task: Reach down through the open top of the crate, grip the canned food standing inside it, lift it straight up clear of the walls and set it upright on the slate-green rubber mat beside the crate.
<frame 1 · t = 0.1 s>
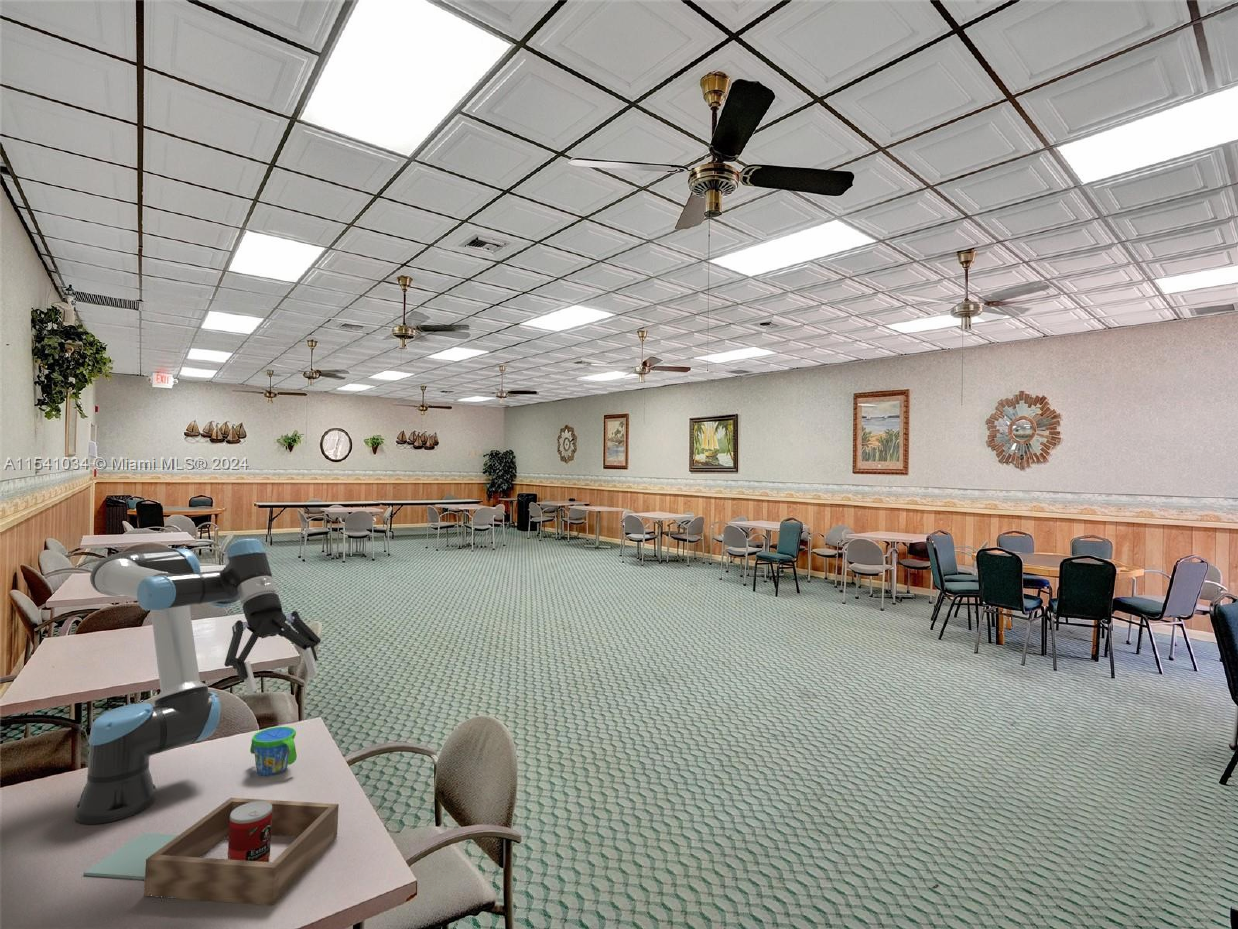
hand: (284, 684, 132), 36 cm above the table, tool tilted 35°, fingers open, 13 cm apart
crate: (248, 863, 125), on the table
canned food: (248, 864, 125), resting in crate
mat: (145, 856, 126), on the table
snack cup: (272, 771, 165), on the table
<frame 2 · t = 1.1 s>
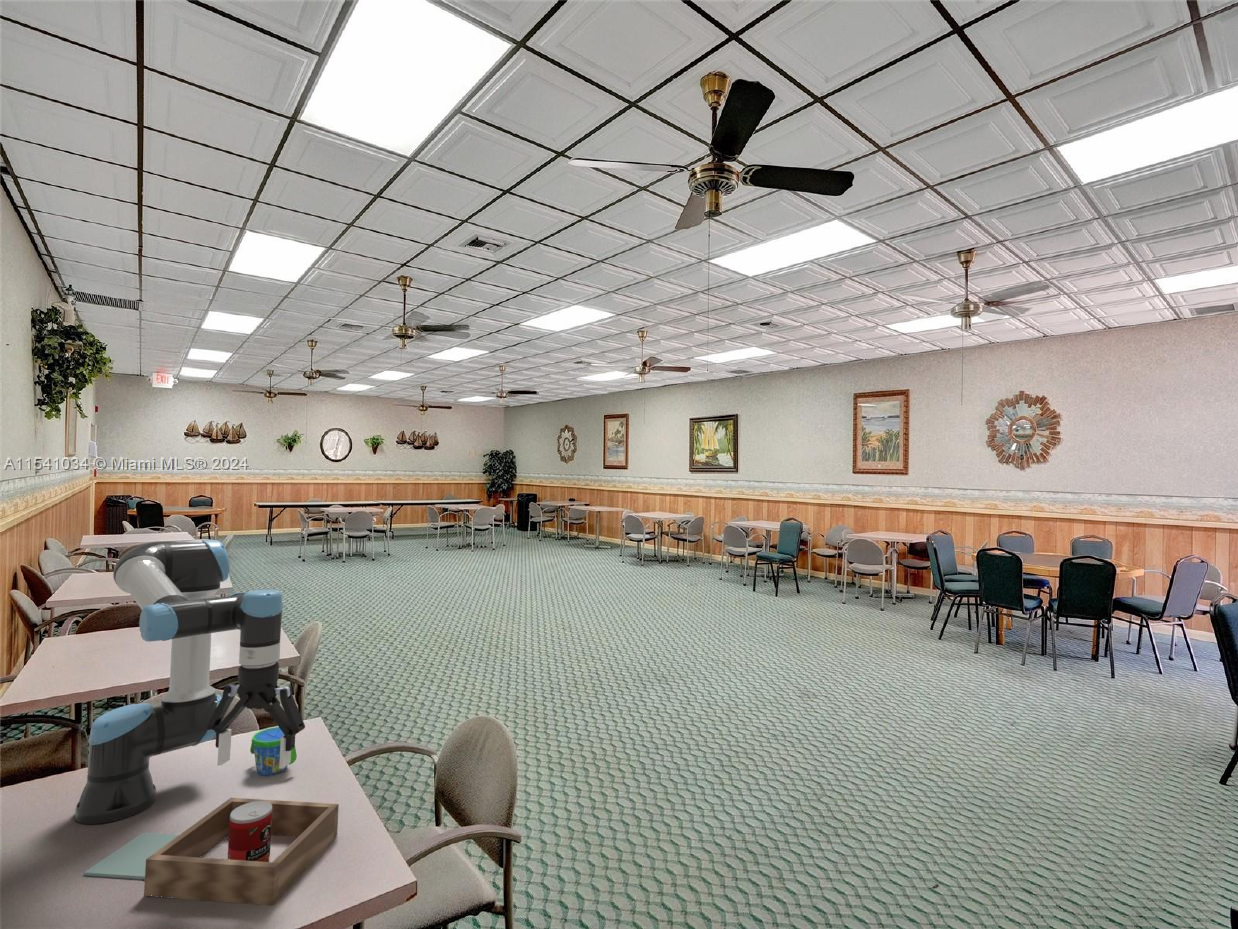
hand: (254, 764, 126), 21 cm above the table, tool pointing down, fingers open, 13 cm apart
nothing on the table moved.
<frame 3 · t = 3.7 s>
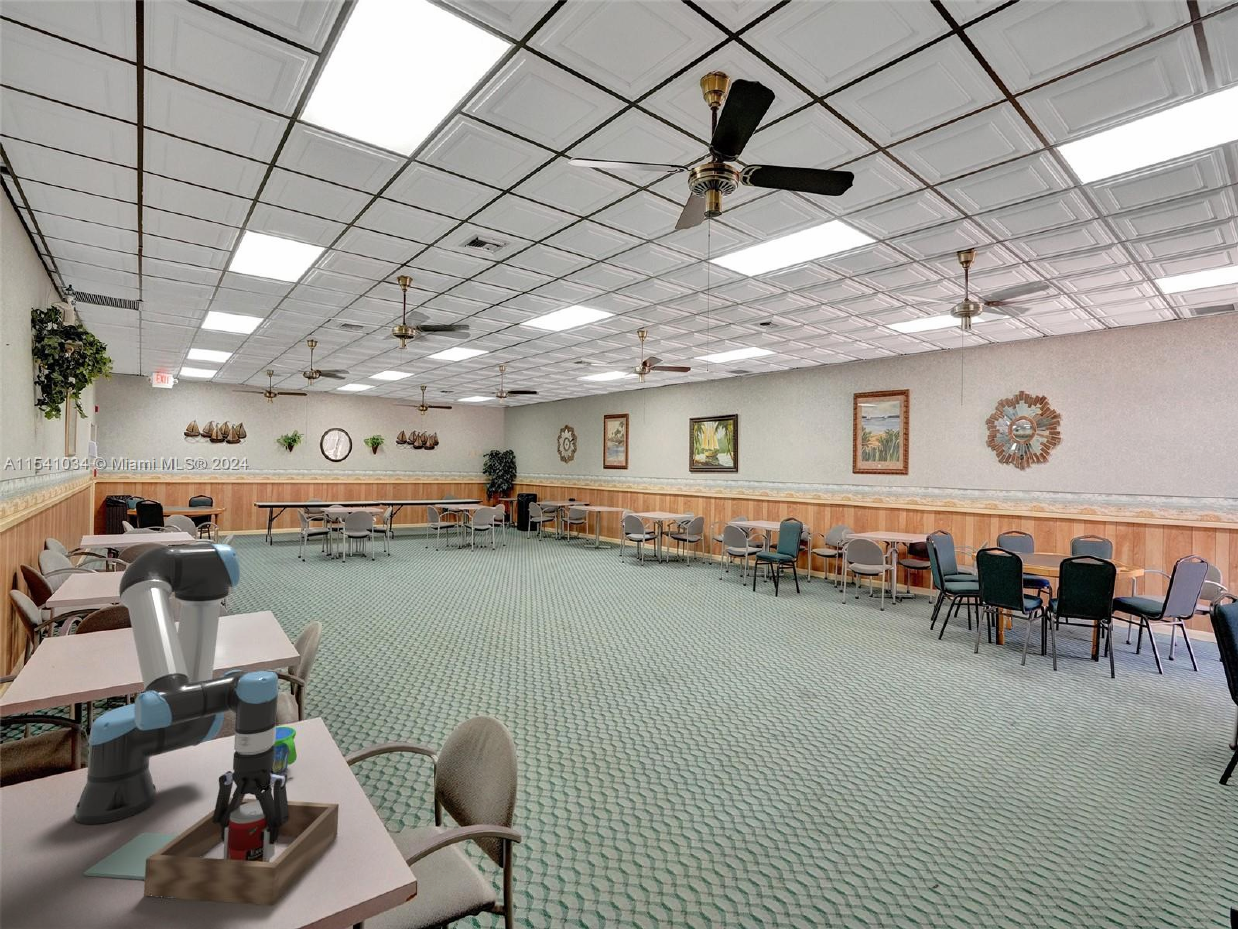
hand: (249, 857, 125), 1 cm above the table, tool pointing down, fingers closed on canned food, 8 cm apart
canned food: (248, 864, 125), resting in crate, touching gripper
everything else where it was.
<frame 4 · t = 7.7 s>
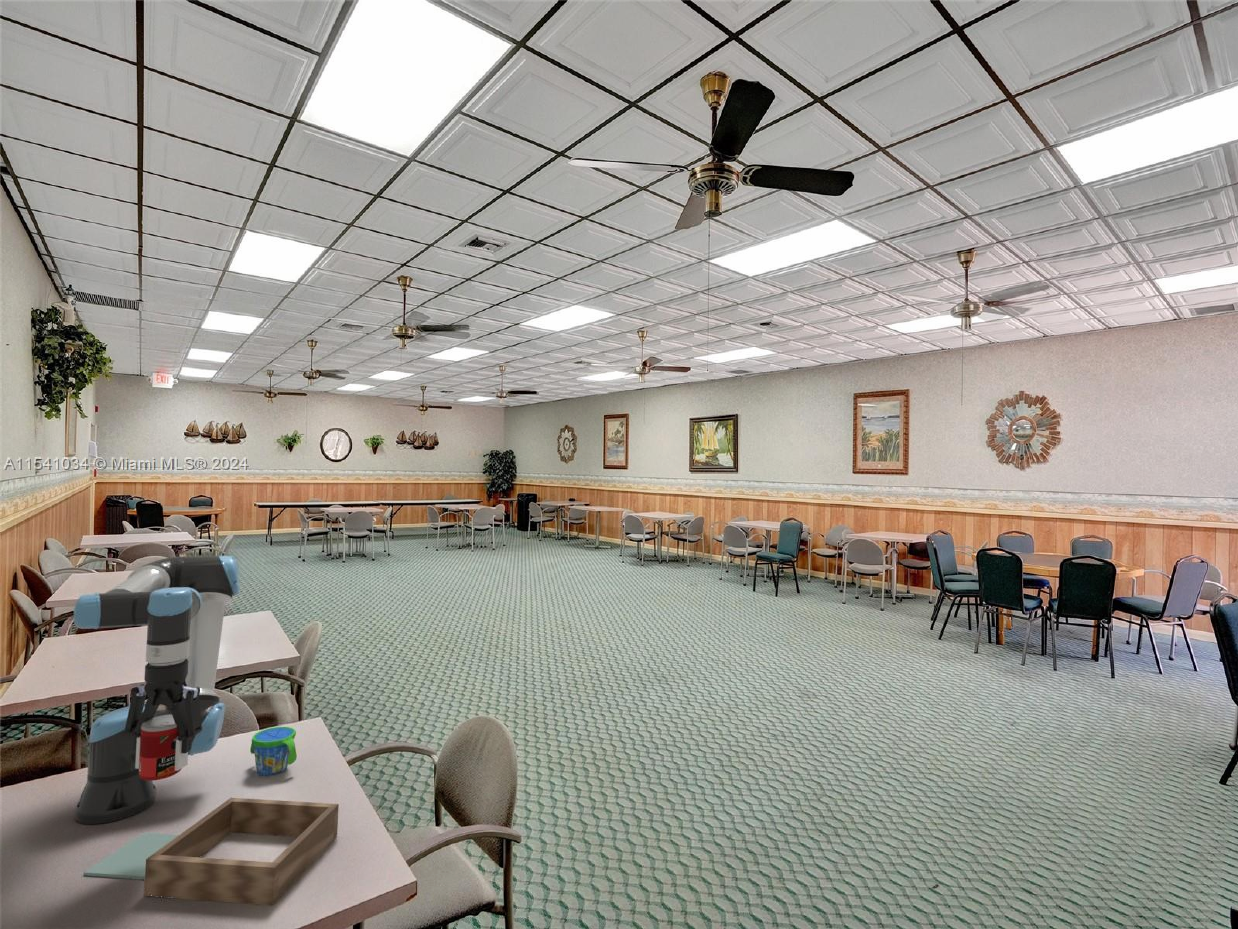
hand: (161, 766, 127), 19 cm above the table, tool pointing down, fingers closed on canned food, 8 cm apart
canned food: (161, 773, 127), point 17 cm above the table, touching gripper
everything else where it was.
when the fingers open (3 cm above the table, at t = 11.8 s): canned food drops 1 cm, resting on mat.
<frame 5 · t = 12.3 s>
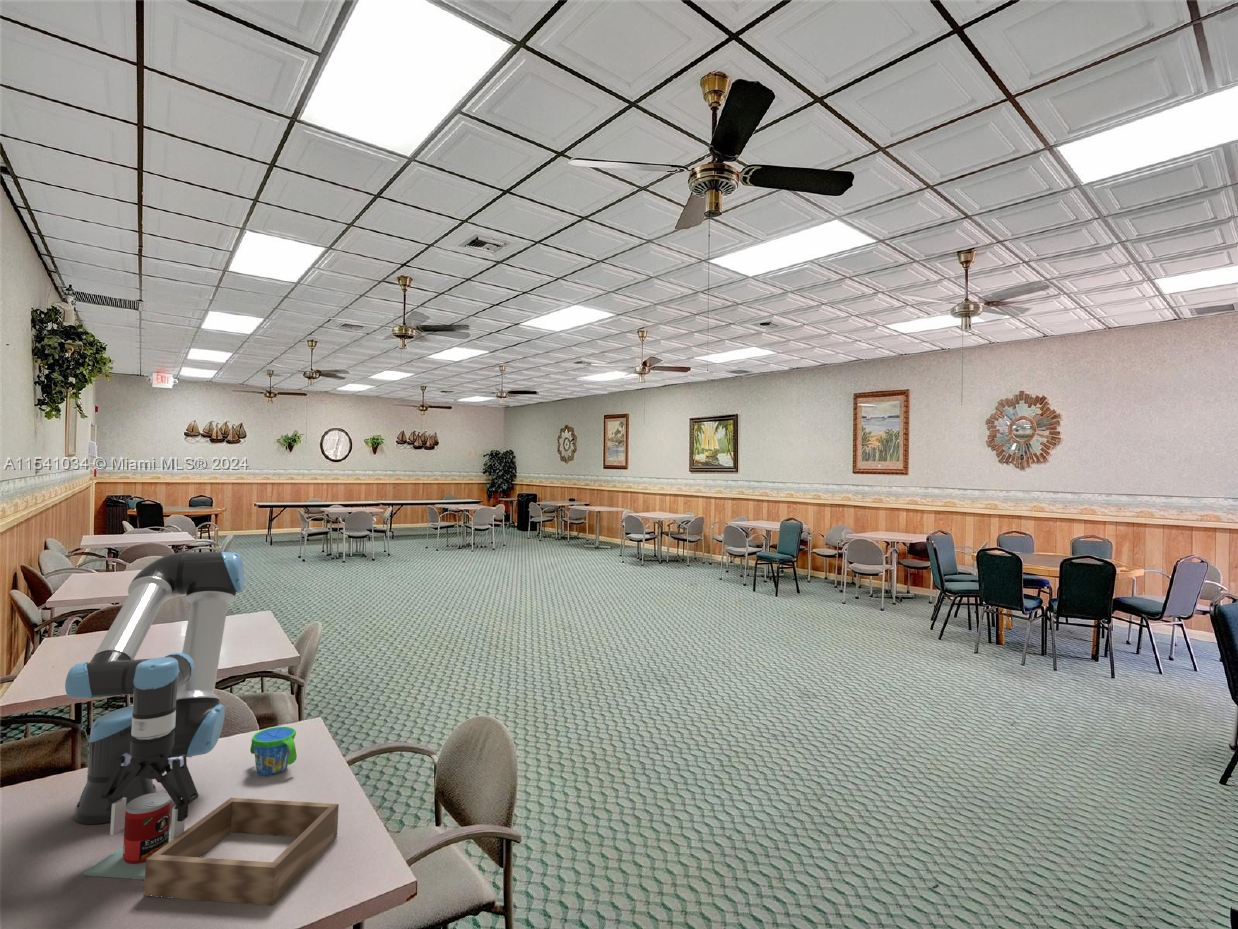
hand: (147, 834, 126), 5 cm above the table, tool pointing down, fingers open, 13 cm apart
canned food: (145, 854, 126), resting on mat
everything else where it was.
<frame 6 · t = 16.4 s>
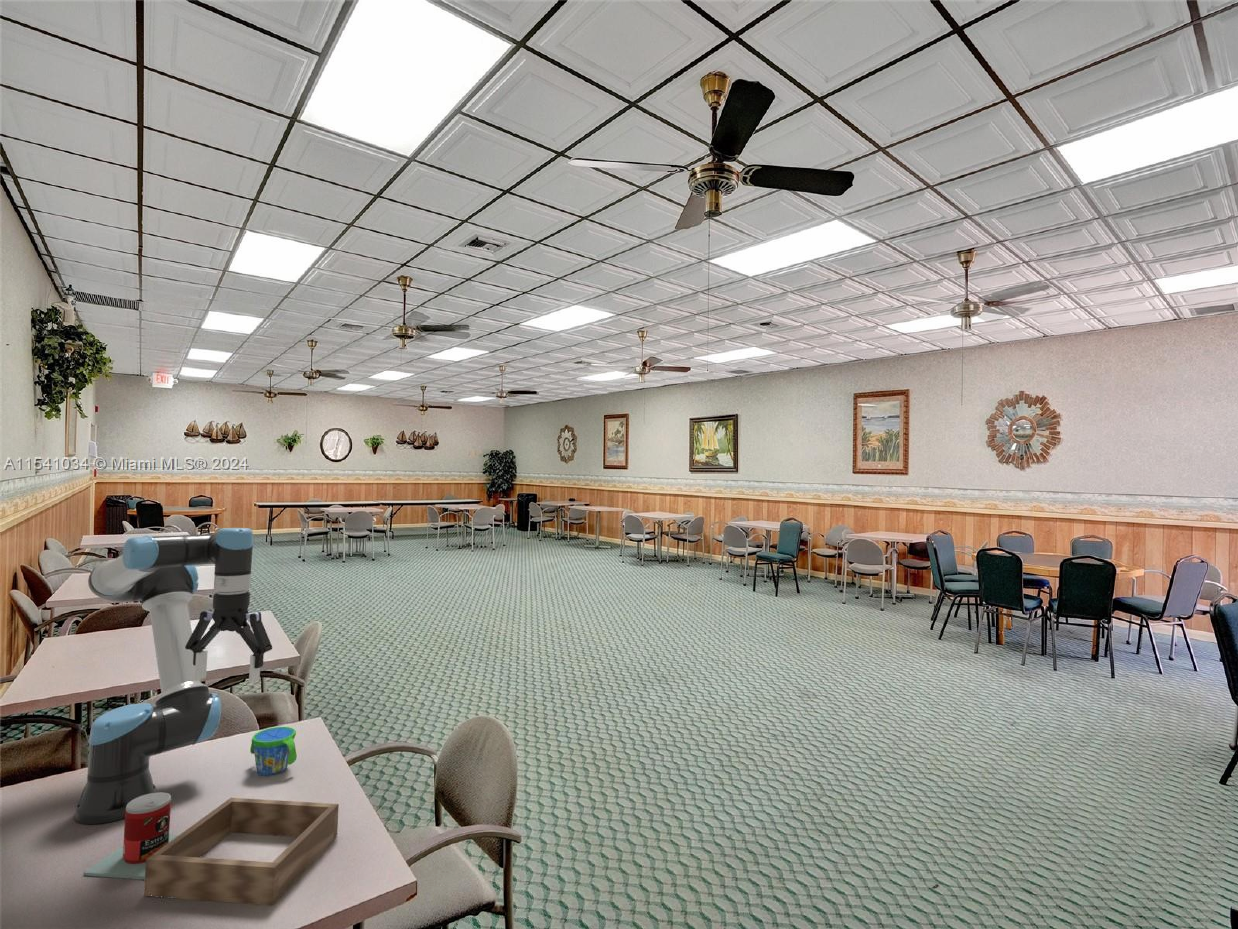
hand: (227, 680, 142), 33 cm above the table, tool pointing down, fingers open, 13 cm apart
nothing on the table moved.
at the end: canned food inside the target area on the mat (0.0 cm from its centre), point 0.4 cm above the mat's base; canned food tilted 0°; the gripper is holding nothing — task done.
